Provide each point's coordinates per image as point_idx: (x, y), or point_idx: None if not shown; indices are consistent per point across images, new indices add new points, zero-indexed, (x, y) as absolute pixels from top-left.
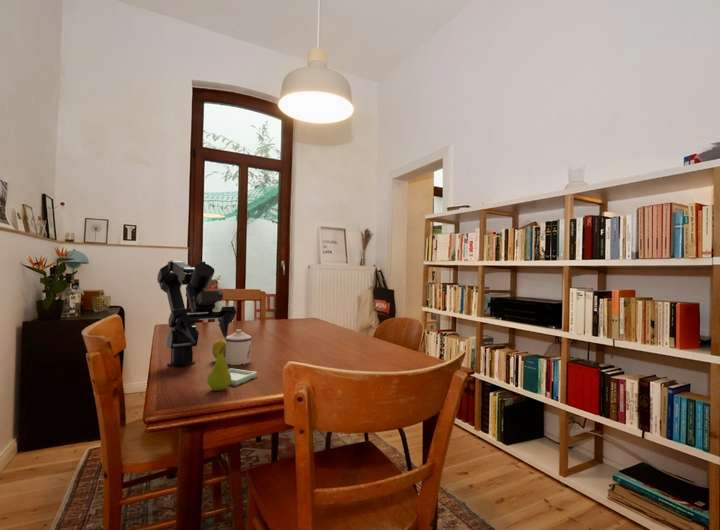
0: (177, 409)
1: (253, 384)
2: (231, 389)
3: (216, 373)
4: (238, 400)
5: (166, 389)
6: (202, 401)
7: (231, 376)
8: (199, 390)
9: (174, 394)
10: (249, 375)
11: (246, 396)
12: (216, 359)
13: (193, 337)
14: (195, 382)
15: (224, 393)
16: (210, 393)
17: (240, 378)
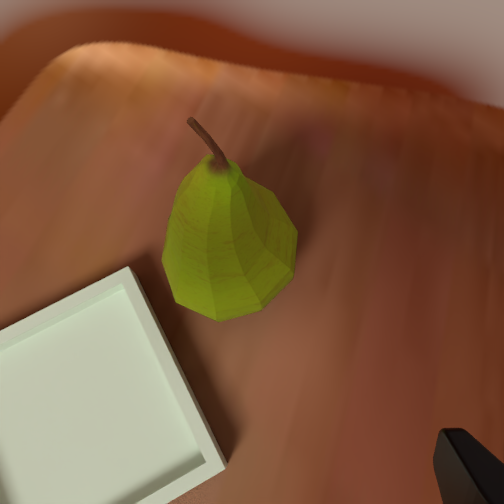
0: (467, 122)
1: (48, 245)
2: None
3: (264, 191)
4: (220, 81)
5: None
6: (355, 152)
7: (78, 439)
8: (323, 317)
9: (453, 329)
10: (5, 329)
11: (170, 105)
12: (246, 205)
13: (479, 445)
14: (300, 497)
15: None
16: None
17: (85, 292)
